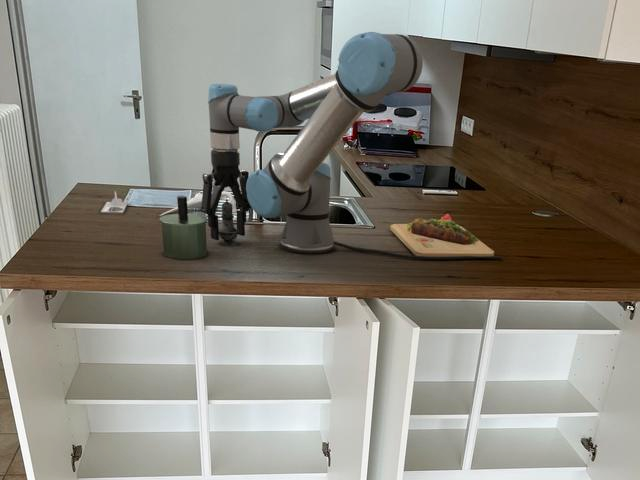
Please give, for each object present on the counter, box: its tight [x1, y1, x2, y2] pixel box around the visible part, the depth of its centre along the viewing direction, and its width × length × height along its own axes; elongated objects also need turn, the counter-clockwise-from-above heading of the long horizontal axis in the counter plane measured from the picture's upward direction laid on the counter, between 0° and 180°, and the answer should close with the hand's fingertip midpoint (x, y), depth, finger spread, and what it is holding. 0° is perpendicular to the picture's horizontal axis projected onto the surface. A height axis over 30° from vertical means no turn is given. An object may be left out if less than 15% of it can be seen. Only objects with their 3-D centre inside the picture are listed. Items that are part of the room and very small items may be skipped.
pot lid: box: [159, 195, 208, 226], centre depth 193 cm, size 12×12×7 cm
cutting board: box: [389, 213, 495, 257], centre depth 222 cm, size 35×23×8 cm
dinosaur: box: [159, 188, 237, 217], centre depth 244 cm, size 25×9×16 cm
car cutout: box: [100, 190, 129, 215], centre depth 239 cm, size 15×7×4 cm, turn 9°
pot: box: [161, 222, 208, 260], centre depth 197 cm, size 11×11×8 cm
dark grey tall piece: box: [218, 198, 239, 247], centre depth 208 cm, size 6×6×12 cm
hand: (228, 236), depth 210 cm, fingers open, 8 cm apart
